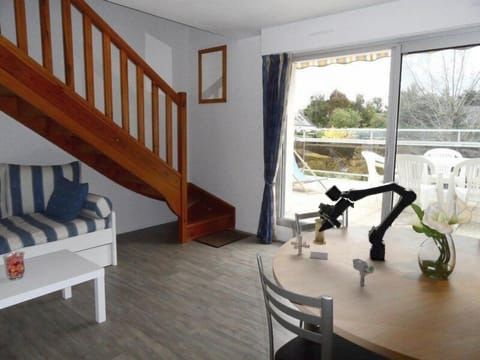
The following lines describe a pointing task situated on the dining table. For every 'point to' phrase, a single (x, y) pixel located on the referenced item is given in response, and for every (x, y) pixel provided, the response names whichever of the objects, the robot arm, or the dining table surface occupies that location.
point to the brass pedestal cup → (319, 235)
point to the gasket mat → (319, 255)
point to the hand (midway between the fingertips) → (317, 230)
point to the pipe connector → (300, 245)
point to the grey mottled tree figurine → (362, 269)
